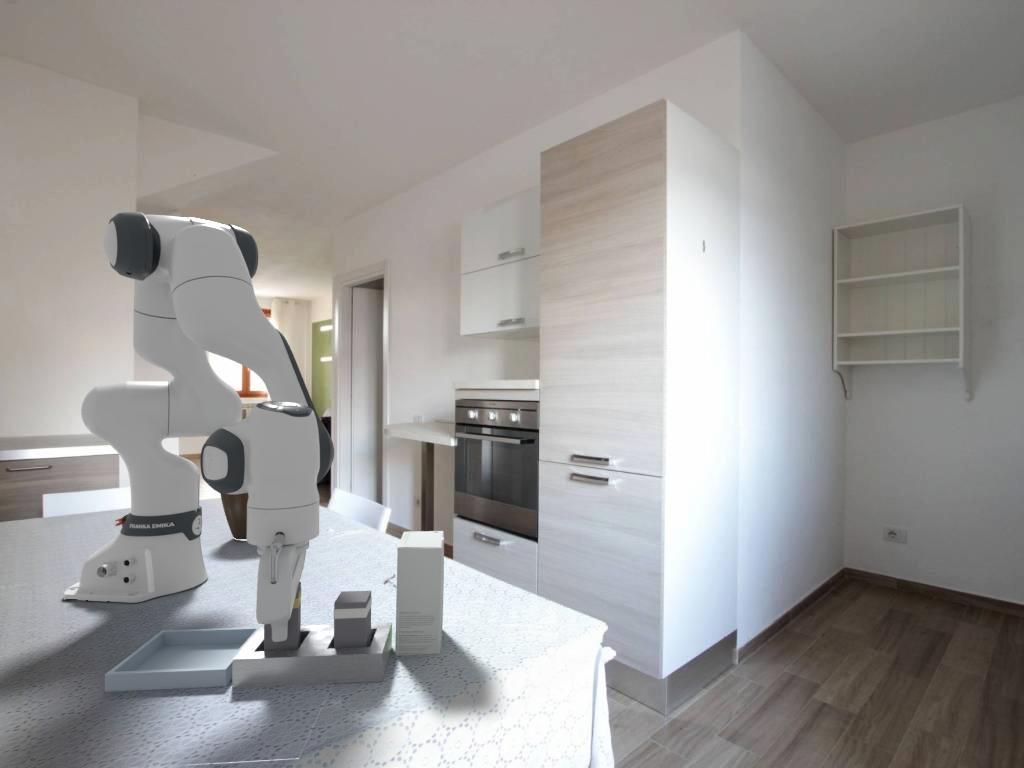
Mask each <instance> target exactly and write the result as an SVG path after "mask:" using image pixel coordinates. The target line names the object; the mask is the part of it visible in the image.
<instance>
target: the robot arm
mask: <svg viewBox="0 0 1024 768" xmlns="http://www.w3.org/2000/svg"><path fill="white" fill-rule="evenodd" d="M103 249H104V253H105V256H106V257H107V259H108V261H109V264H110V266H111V268H112V269H113V270H114V271H115V272H116V273H117V274H119V276H122V277H125V278H129V279H131V280H136V281H135V287H134V289H135V290H134V297H133V299H134V300H133V335H132V336H133V339H132V340H133V341H132V343H133V348H134V351H135V352H136V354H137V355H138V356H139V357H140V358H141V359H143V360H144V361H145V362H148V363H149V364H151V365H153V366H156V367H158V368H161V369H162V370H165V371H166V372H168V373H170V375H172V377H173V379H171V380H167V381H166V380H161V381H159V380H123V381H116V382H108V383H103V384H97V385H96V386H94V387H93V388H91V390H89V392H88V393H87V394H86V395H85V396H84V398H83V402H82V404H81V407H80V410H81V411H80V415H81V419H82V422H83V424H84V426H85V427H86V429H88V431H89V432H90V433H91V434H93V435H94V436H95V437H96V438H98V439H100V440H102V441H104V442H106V443H107V444H108V445H109V446H111V447H112V448H113V449H114V451H116V452H117V453H118V455H119V456H120V458H121V460H122V461H123V462H124V464H125V467H126V469H127V472H128V477H129V479H128V480H129V486H130V488H129V489H130V512H129V513H128V514H126V515H124V516H122V517H120V518H119V519H116V520H115V521H114V522H117V523H116V524H115V525H114V526H115V527H118V526H121V530H119V532H120V533H119V534H118V535H116V536H115V537H114V538H112V539H111V540H109V541H108V542H107V543H106V544H104V545H102V547H100V548H99V549H97V550H96V551H95V552H93V553H92V554H90V555H89V556H88V557H87V558H86V559H85V561H84V563H83V566H82V568H81V572H80V577H79V581H78V582H75V583H74V584H73V585H70V586H69V587H68V588H67V589H65V591H64V593H63V595H62V596H63V597H62V599H63V598H65V599H64V600H66V599H78V600H77V601H86V600H88V601H90V602H107V601H110V603H131V604H132V603H133V604H135V603H142V602H144V601H148V600H151V599H154V598H158V597H161V596H168V595H171V594H176V593H178V592H183V591H187V590H189V589H193V588H194V587H197V586H199V585H201V584H202V583H204V582H205V581H207V580H208V578H209V574H208V572H207V569H206V565H205V562H204V556H203V550H202V542H201V540H202V539H201V535H202V532H203V531H202V530H203V519H202V518H203V512H202V511H203V510H202V506H201V505H200V487H201V486H200V484H201V483H200V481H201V480H200V478H201V477H202V479H203V480H204V482H205V483H206V484H207V486H209V487H210V488H211V489H212V490H214V491H216V492H217V493H219V494H220V493H221V494H243V493H248V495H249V498H248V503H247V541H246V542H247V543H248V544H250V545H253V546H257V550H256V553H257V554H258V555H259V556H260V558H259V563H258V570H257V581H256V582H257V583H256V607H255V608H256V610H255V611H256V612H255V615H256V620H257V621H256V622H257V623H258V625H264V624H271V627H272V640H273V641H274V642H279V641H285V640H286V639H287V636H288V620H289V619H290V617H291V613H292V609H293V605H294V601H295V598H296V593H297V589H298V586H299V582H301V579H302V578H301V577H302V575H303V571H304V567H305V562H306V555H307V550H308V549H309V548H310V541H311V540H314V539H315V538H317V537H318V536H319V535H320V494H319V490H318V486H317V484H318V483H321V481H322V480H323V479H324V477H325V476H326V475H327V473H329V470H330V469H331V467H332V465H333V462H334V459H335V446H334V442H333V439H332V437H331V435H330V433H329V431H328V430H327V428H326V426H325V425H324V423H323V422H322V420H321V418H320V416H319V415H318V413H317V409H316V408H315V406H314V403H313V400H312V398H311V396H310V393H309V391H308V388H307V385H306V383H305V379H304V378H303V376H302V373H301V370H300V367H299V365H298V363H297V360H296V358H295V356H294V353H293V350H292V349H291V347H290V346H291V345H290V344H289V342H288V340H287V339H286V337H285V335H283V333H281V332H280V331H279V329H277V328H276V327H275V326H274V325H273V324H272V322H270V320H269V319H268V317H267V316H266V315H265V313H264V311H263V310H262V308H261V306H260V304H259V302H258V299H257V297H256V293H255V290H254V285H253V281H252V279H253V278H254V276H255V275H256V274H257V270H258V265H259V250H258V245H257V242H256V240H255V238H254V237H253V235H252V234H251V233H250V231H248V230H246V229H244V228H241V227H238V226H236V225H233V224H230V223H229V224H228V223H227V224H222V223H219V222H216V221H211V220H206V219H201V218H197V217H191V216H186V217H184V216H183V217H182V216H174V215H163V214H144V213H143V212H142V211H126V212H118V213H116V214H115V215H114V216H112V217H111V218H110V219H109V222H108V225H107V227H106V229H105V231H104V236H103ZM207 352H209V353H211V354H214V355H217V356H220V357H223V358H226V359H228V360H230V361H233V362H235V363H237V364H239V365H242V366H244V367H245V368H248V369H249V370H250V371H252V372H253V373H255V374H256V375H257V376H258V377H259V378H260V379H261V380H262V382H263V383H264V385H265V387H266V390H267V392H268V394H269V397H270V399H271V400H269V401H262V402H259V403H257V404H255V405H254V406H252V407H251V408H252V409H251V410H250V413H249V415H248V416H246V417H245V418H243V419H241V417H242V414H243V403H242V399H241V396H240V395H239V393H238V392H237V390H236V389H235V388H234V387H232V386H231V385H230V384H228V383H227V382H225V381H224V380H222V379H221V377H220V376H219V375H218V374H216V372H215V371H214V369H213V368H212V366H211V364H210V362H209V359H208V356H207ZM196 437H197V438H199V437H208V438H207V439H206V440H205V442H204V443H203V445H202V448H201V451H200V460H199V461H200V463H199V465H200V470H199V467H198V466H197V464H195V463H194V462H193V461H192V460H190V459H188V458H185V457H183V456H180V455H178V454H174V453H172V452H169V451H168V450H166V449H165V448H164V447H163V445H162V441H163V440H165V439H176V438H196ZM200 472H201V473H200ZM200 476H201V477H200ZM221 494H220V495H221Z"/></svg>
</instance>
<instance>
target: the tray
mask: <svg viewBox="0 0 1024 768" xmlns="http://www.w3.org/2000/svg"><path fill="white" fill-rule="evenodd" d="M261 627H262V626H246V627H245V626H244V627H243V626H242V627H218V628H216V627H215V628H195V629H194V628H191V629H165V630H160V631H159V632H158V633H157V634H155V635H154V636H153V637H151V638H150V639H149V640H147V641H146V642H145V643H143V644H142V645H141V646H140V647H138V648H137V649H136V650H135V651H133V652H132V653H131V654H129V655H128V656H127V657H125V658H124V659H123V660H122V661H120V662H119V663H118V664H117V665H115V666H114V667H112V669H110V670H108V672H106V673H105V674H104V692H109V693H110V692H126V691H127V692H128V691H146V690H147V691H149V690H151V691H153V690H167V689H168V690H169V689H188V688H189V689H192V688H194V689H195V688H211V687H213V688H214V687H226V686H227V685H228V684H229V683H230V682H231V680H232V667H233V658H234V657H235V656H236V655H237V654H238V653H239V652H240V650H241V649H242V648H243V647H244V646H245V645H246V644H247V643H248V641H249V640H250V639H251V638H252V637H253V636H254V635H255V633H256V632H257V631H258V630H259V629H260V628H261Z"/></svg>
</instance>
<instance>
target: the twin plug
mask: <svg viewBox="0 0 1024 768" xmlns="http://www.w3.org/2000/svg"><path fill="white" fill-rule="evenodd" d="M372 596H373V595H372V590H356V591H355V590H353V591H352V590H349V591H348V590H345V591H340V593H339V595H338V596H337V597H336V600H335V601H334V603H333V606H334V607H333V625H334V648H359V647H370V646H371V623H372V604H373V603H372V601H373V600H372V599H373V597H372Z"/></svg>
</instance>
